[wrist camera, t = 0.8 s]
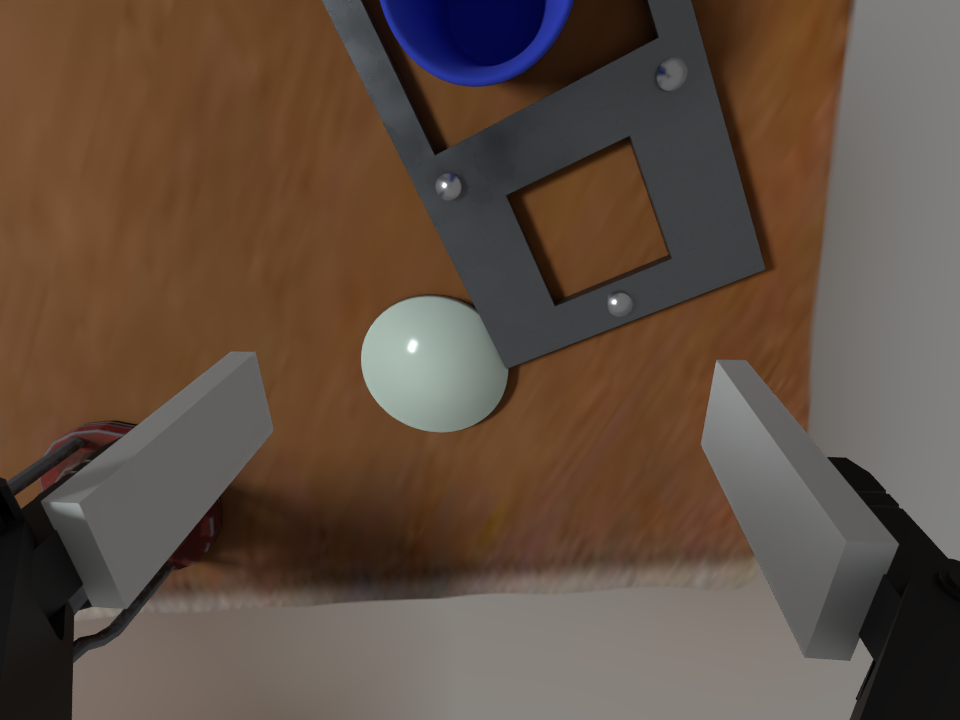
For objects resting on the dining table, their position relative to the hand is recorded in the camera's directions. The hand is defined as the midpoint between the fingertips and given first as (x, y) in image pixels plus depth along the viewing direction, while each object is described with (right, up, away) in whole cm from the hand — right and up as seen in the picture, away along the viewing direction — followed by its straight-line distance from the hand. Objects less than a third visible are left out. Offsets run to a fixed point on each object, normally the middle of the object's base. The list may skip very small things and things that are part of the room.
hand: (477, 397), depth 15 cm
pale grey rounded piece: (-3, +1, +24) cm, 24 cm away
